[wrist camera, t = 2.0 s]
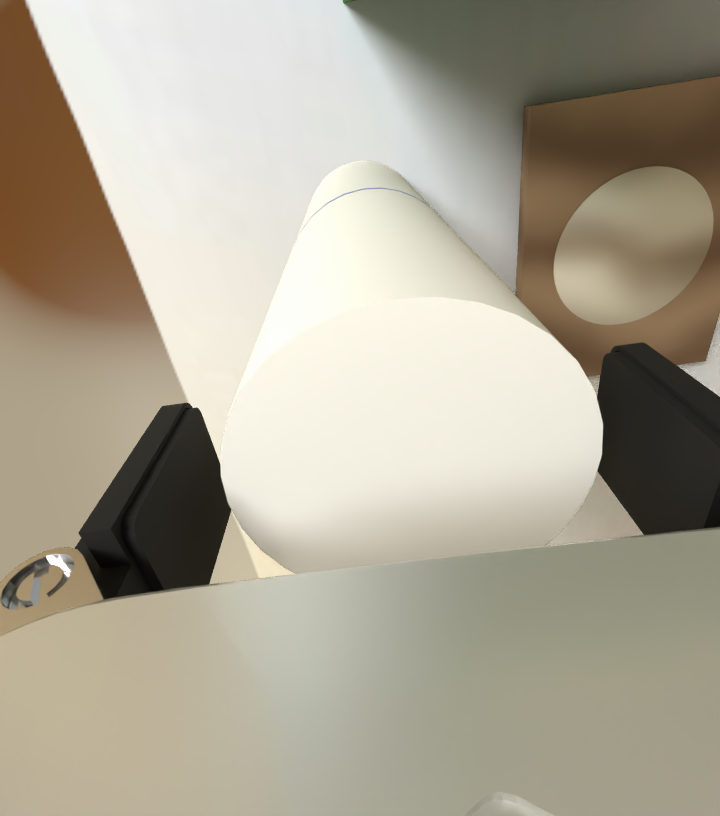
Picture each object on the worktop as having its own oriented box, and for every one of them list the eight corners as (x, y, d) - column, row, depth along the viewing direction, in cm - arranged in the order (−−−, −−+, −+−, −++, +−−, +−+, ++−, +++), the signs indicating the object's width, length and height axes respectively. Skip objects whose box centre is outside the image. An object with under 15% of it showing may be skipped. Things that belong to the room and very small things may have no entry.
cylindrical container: (433, 177, 29) (684, 349, 8) (401, 288, 32) (510, 613, 11) (319, 146, 28) (239, 247, 6) (300, 264, 31) (207, 576, 10)
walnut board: (524, 106, 27) (531, 106, 26) (774, 66, 26) (793, 64, 25) (512, 377, 36) (517, 386, 35) (695, 353, 36) (706, 361, 35)
